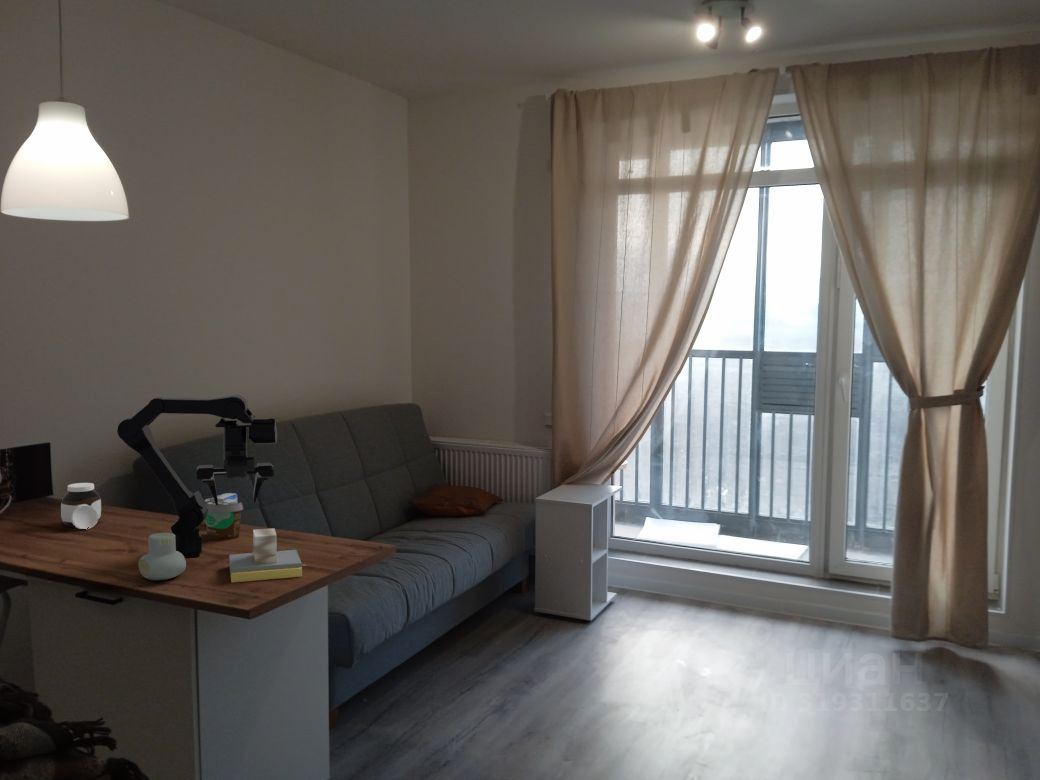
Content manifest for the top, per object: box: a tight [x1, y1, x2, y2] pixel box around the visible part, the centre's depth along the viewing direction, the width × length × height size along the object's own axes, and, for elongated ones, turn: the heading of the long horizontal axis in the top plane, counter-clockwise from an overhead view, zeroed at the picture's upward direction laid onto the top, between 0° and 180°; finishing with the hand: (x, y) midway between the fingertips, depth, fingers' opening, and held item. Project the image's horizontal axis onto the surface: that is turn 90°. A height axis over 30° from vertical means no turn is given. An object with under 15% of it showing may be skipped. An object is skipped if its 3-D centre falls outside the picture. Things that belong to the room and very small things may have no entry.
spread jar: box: [60, 482, 102, 530], centre depth 242 cm, size 12×11×12 cm
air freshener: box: [138, 532, 187, 581], centre depth 197 cm, size 11×8×10 cm
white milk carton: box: [252, 527, 278, 564], centre depth 203 cm, size 5×8×6 cm, turn 21°
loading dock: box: [228, 549, 303, 583], centre depth 203 cm, size 16×13×3 cm
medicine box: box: [210, 492, 238, 504], centre depth 247 cm, size 8×4×9 cm, turn 168°
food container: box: [204, 498, 244, 541], centre depth 232 cm, size 12×6×10 cm, turn 68°
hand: (235, 503), depth 217 cm, fingers open, 9 cm apart
